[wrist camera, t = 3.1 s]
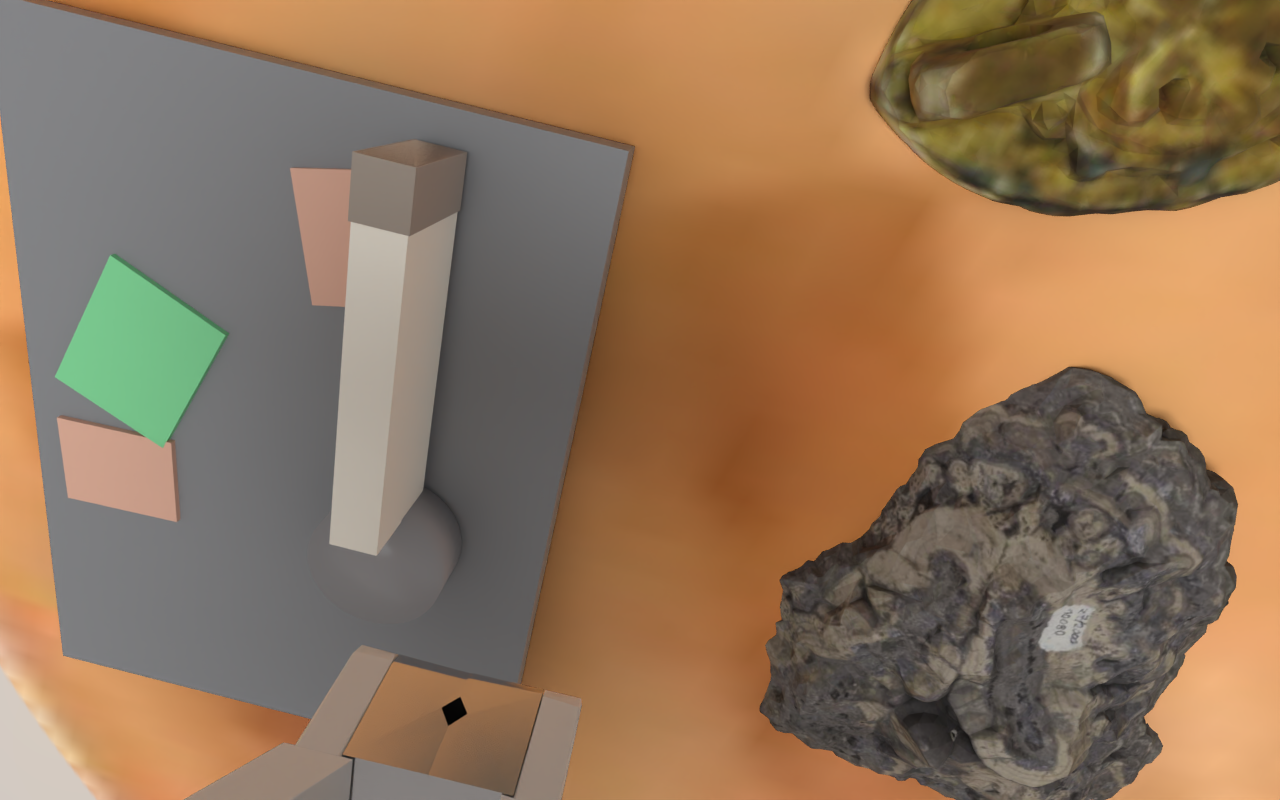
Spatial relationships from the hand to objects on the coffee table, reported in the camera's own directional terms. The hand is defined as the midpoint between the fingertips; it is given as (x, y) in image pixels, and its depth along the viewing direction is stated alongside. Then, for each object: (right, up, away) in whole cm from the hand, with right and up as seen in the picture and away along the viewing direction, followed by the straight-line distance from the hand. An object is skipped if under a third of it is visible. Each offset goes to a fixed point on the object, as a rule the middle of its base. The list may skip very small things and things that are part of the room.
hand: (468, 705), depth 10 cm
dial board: (-9, +3, +17) cm, 19 cm away
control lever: (-5, +4, +14) cm, 15 cm away
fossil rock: (+14, -3, +18) cm, 23 cm away
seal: (+16, +14, +10) cm, 23 cm away
